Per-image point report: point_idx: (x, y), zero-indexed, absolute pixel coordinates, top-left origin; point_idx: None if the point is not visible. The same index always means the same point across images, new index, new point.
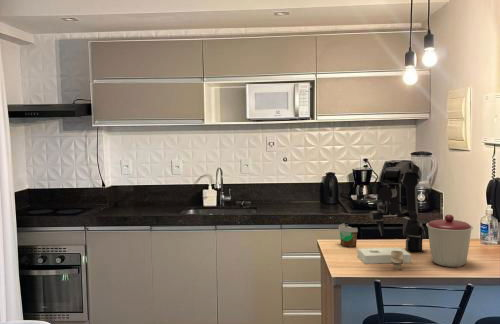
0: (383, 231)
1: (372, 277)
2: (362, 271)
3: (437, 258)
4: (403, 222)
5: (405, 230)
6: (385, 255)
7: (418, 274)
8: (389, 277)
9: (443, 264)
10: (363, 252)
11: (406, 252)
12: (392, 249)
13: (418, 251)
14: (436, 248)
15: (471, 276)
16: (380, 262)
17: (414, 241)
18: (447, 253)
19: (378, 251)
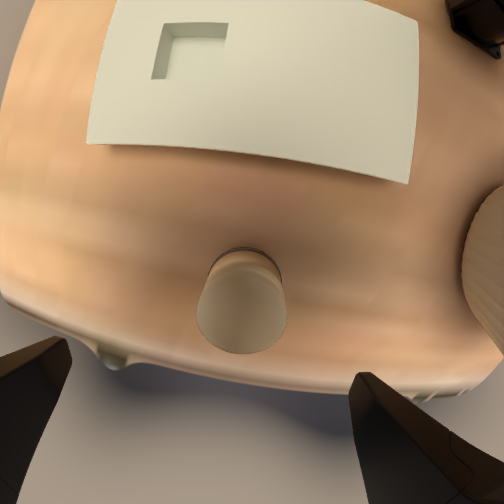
0: (48, 418)
1: (96, 344)
2: (70, 267)
3: (470, 285)
4: (459, 499)
5: (364, 465)
6: (223, 149)
7: (300, 359)
8: (158, 363)
9: (464, 292)
10: (108, 64)
11: (405, 127)
12: (348, 29)
13: (482, 48)
14: (497, 311)
15: (443, 384)
16: (195, 148)
17: (500, 22)
18: (492, 339)
19: (226, 37)
